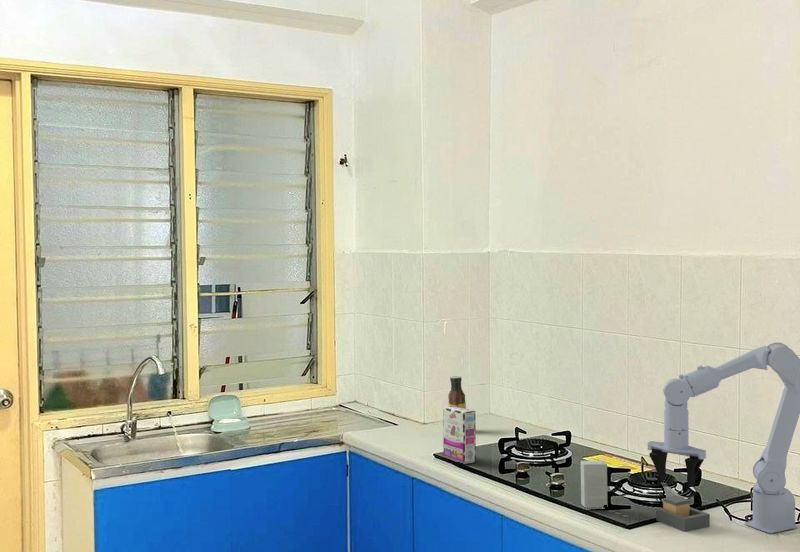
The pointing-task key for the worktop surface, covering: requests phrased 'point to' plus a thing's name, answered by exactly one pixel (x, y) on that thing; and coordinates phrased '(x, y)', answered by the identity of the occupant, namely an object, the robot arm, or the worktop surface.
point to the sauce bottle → (456, 393)
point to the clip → (669, 491)
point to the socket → (684, 519)
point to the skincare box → (593, 483)
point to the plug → (677, 505)
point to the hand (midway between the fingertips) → (676, 483)
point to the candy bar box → (459, 433)
